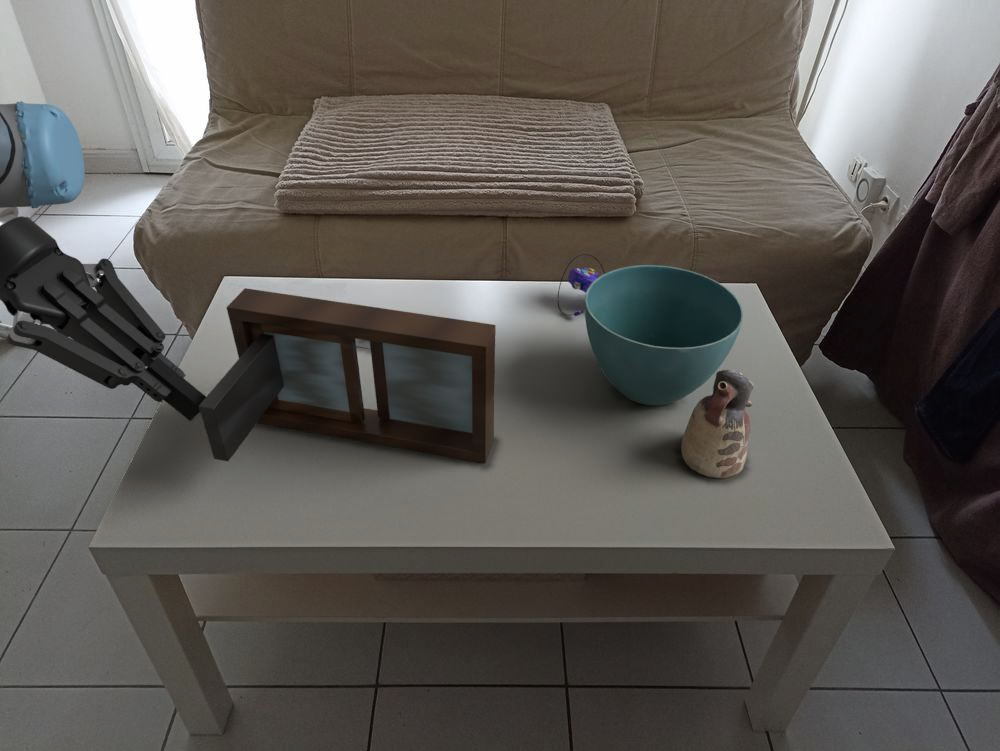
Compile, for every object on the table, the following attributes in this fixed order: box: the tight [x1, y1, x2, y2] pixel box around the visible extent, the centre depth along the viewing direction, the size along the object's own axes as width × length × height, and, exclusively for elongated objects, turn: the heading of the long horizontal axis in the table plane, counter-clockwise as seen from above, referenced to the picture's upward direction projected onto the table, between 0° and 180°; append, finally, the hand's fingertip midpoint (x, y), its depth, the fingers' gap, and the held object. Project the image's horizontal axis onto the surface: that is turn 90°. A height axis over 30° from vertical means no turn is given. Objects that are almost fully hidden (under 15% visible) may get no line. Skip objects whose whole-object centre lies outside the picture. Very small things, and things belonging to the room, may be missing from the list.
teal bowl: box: [584, 264, 744, 407], centre depth 91 cm, size 18×18×12 cm
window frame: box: [226, 287, 497, 464], centre depth 82 cm, size 28×4×16 cm, turn 77°
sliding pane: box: [199, 322, 365, 462], centre depth 78 cm, size 12×13×12 cm
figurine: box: [680, 369, 755, 479], centre depth 81 cm, size 7×7×12 cm
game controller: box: [557, 253, 606, 317], centre depth 108 cm, size 10×8×10 cm
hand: (200, 410), depth 75 cm, fingers closed
